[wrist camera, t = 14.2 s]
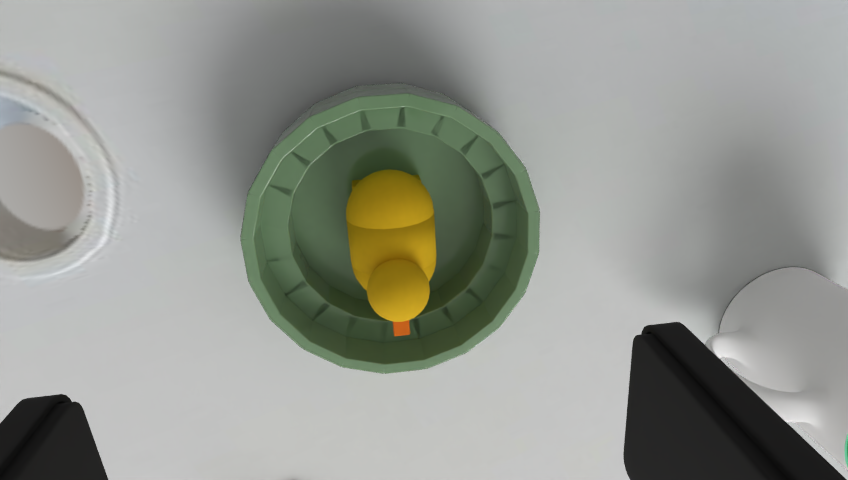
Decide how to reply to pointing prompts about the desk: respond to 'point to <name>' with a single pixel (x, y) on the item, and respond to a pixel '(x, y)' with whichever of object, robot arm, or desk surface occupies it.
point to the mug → (793, 351)
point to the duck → (392, 243)
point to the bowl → (328, 236)
